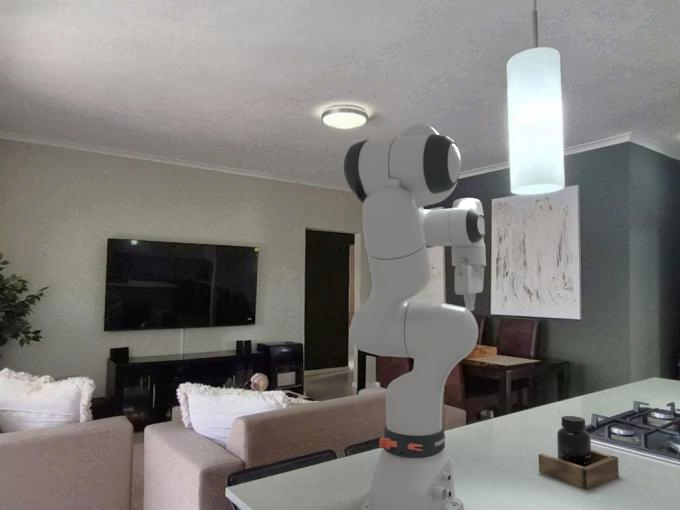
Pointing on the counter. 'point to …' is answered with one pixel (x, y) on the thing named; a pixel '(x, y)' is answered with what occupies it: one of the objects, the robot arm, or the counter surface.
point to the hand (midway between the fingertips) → (470, 310)
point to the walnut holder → (581, 470)
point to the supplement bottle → (574, 441)
